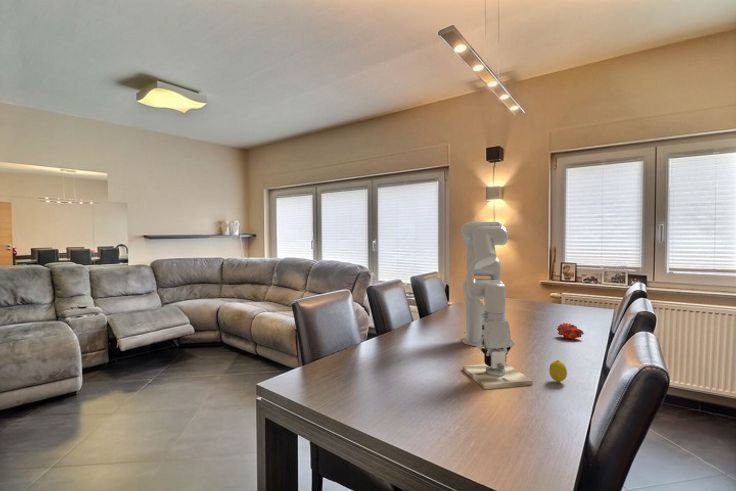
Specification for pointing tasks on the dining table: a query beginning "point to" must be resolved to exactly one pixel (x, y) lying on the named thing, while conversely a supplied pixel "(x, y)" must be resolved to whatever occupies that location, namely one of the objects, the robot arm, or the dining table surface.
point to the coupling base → (496, 376)
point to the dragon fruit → (569, 331)
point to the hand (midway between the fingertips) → (495, 364)
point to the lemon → (558, 371)
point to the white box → (498, 358)
